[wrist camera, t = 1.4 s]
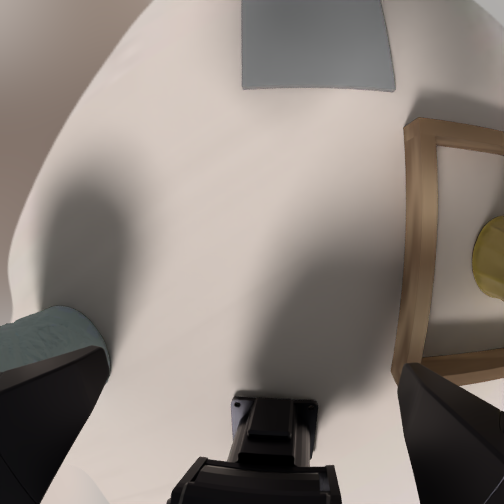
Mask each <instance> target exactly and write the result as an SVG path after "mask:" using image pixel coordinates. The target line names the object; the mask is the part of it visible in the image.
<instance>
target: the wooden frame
mask: <svg viewBox="0 0 504 504" xmlns="http://www.w3.org/2000/svg"><path fill="white" fill-rule="evenodd" d="M403 129H404V144H405V165H406V233H405V254H404V270H403V282H402V293H401V303H400V312H399V320H398V327H397V335H396V342H395V348H394V354H393V360H392V366H391V373H392V375H393V378H394V380H395V382H396V384H397V386H398V384H399V380H400V376H401V372H402V368H403V365H404V364H405V363H414V362H418V363H420V364H421V365H423V366H425V367H427V368H428V369H430V370H432V371H433V372H435V373H437V374H439V375H440V376H442V377H444V378H446V379H447V380H449V381H451V382H452V383H454V384H456V385H458V386H462V385H468V384H474V383H480V382H485V381H491V380H496V379H500V378H504V348H500V349H493V350H486V351H479V352H471V353H463V354H454V355H445V356H435V357H423V358H422V355H423V349H424V344H425V338H426V333H427V326H428V320H429V313H430V306H431V298H432V290H433V280H434V270H435V258H436V242H437V215H438V181H437V155H436V146H445V147H453V148H460V149H467V150H474V151H480V152H486V153H492V154H498V155H504V132H503V131H499V130H494V129H489V128H484V127H479V126H474V125H468V124H462V123H456V122H450V121H443V120H437V119H429V118H421V117H418V118H417V119H415V120H414V121H412V122H411V123H410V124H408V125H407V126H405V127H404V128H403Z"/></svg>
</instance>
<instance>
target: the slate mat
mask: <svg viewBox="0 0 504 504" xmlns="http://www.w3.org/2000/svg"><path fill="white" fill-rule="evenodd" d="M242 88H243V90H247V89H266V88H342V89H361V90H374V91H386V92H394V91H395V90H396V89H395V81H394V74H393V67H392V60H391V54H390V48H389V42H388V36H387V31H386V26H385V21H384V16H383V12H382V7H381V3H380V0H242Z"/></svg>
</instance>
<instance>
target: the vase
mask: <svg viewBox="0 0 504 504" xmlns="http://www.w3.org/2000/svg"><path fill="white" fill-rule="evenodd" d="M472 268H473V274H474V277H475V280H476V283H477V285H478V286H479V288H480V289H481V291H482V292H483V293H485V294H486V295H488V296H490V297H493V298H498V299H501V300H502V301H504V216H499V217H496V218H494V219H492V220H491V221H489V222H488V223H487V224H486V225H485V226H484V228H483V229H482V231H481V232H480V234H479V236H478V239H477V241H476V244H475V246H474V250H473V257H472Z"/></svg>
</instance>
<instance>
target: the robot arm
mask: <svg viewBox="0 0 504 504" xmlns="http://www.w3.org/2000/svg"><path fill="white" fill-rule="evenodd" d="M109 373H110V369H109V365H108V361H107V357H106V353H105V350H104V348H102V347H100V346H94V345H91V346H88V347H84V348H81V349H78V350H75V351H71V352H68V353H65V354H62V355H58V356H55V357H52V358H48V359H45V360H41V361H38V362H35V363H31V364H28V365H24V366H21V367H17V368H14V369H10V370H7V371H4V372H0V504H40V503H41V501H42V499H43V497H44V495H45V493H46V491H47V490H48V488H49V486H50V484H51V482H52V480H53V479H54V477H55V475H56V473H57V471H58V469H59V468H60V466H61V464H62V463H63V461H64V459H65V457H66V455H67V454H68V452H69V450H70V448H71V447H72V445H73V443H74V442H75V440H76V438H77V436H78V435H79V433H80V431H81V430H82V428H83V426H84V424H85V423H86V421H87V419H88V418H89V416H90V414H91V413H92V411H93V409H94V407H95V405H96V403H97V400H98V398H99V396H100V394H101V392H102V390H103V387H104V385H105V383H106V381H107V379H108V377H109ZM397 392H398V400H399V406H400V412H401V419H402V426H403V432H404V438H405V442H406V446H407V450H408V453H409V457H410V461H411V465H412V469H413V473H414V478H415V482H416V486H417V491H418V495H419V500H420V504H504V412H503V411H500V409H498V408H496V407H494V406H493V405H491V404H489V403H487V402H486V401H484V400H482V399H480V398H479V397H477V396H475V395H473V394H472V393H470V392H468V391H466V390H465V389H463V388H461V387H459V386H458V385H456V384H454V383H452V382H451V381H449V380H447V379H446V378H444V377H442V376H440V375H439V374H437V373H435V372H433V371H432V370H430V369H428V368H427V367H425V366H423V365H421V364H420V363H418V362H414V363H405V364H404V365H403V368H402V372H401V376H400V380H399V384H398V391H397ZM235 402H239V403H240V404H239V405H238V404H236V403H235ZM311 405H312V406H314V407H313V408H310V407H309V406H311ZM317 413H318V403H317V402H316V401H315V400H291V399H277V398H248V397H234V398H233V399H232V402H231V416H232V432H233V444H232V447H231V450H230V453H229V457H228V460H227V462H225V461H217V460H210V459H208V458H206V457H199V458H198V459H197V460H196V462H195V463H194V464H193V465H192V466H191V468H190V469H189V470H188V471H187V473H186V474H185V475H184V476H183V478H182V479H181V480H180V481H179V483H178V484H177V485H176V486H175V488H174V489H173V490H172V493H171V498H170V499H168V500H167V504H342V500H341V494H340V489H339V485H338V480H337V476H336V472H335V467H334V465H326V466H325V467H310V460H311V458H312V453H313V446H314V438H315V430H316V422H317Z"/></svg>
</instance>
